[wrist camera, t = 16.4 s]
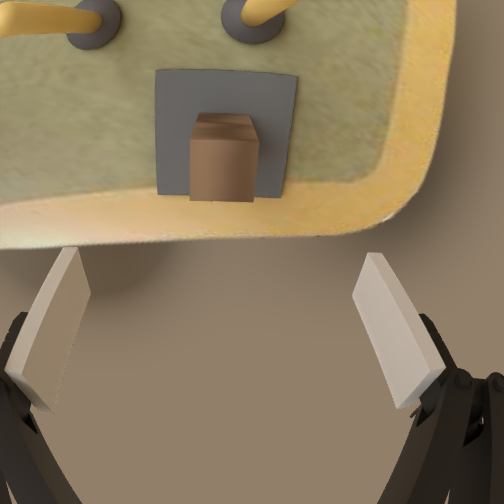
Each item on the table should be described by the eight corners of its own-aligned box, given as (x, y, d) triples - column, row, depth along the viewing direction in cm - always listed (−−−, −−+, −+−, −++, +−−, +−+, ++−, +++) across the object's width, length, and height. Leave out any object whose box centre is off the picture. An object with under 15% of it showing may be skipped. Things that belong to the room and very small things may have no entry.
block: (197, 157, 33) (189, 200, 25) (199, 112, 30) (189, 139, 22) (244, 159, 33) (253, 202, 25) (248, 114, 30) (259, 142, 22)
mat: (158, 192, 35) (157, 194, 35) (156, 70, 27) (155, 70, 26) (279, 195, 37) (280, 198, 36) (296, 76, 29) (297, 76, 28)
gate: (68, 53, 24) (-30, 74, 11) (70, 2, 20) (-26, -7, 8) (279, 46, 27) (330, 47, 14) (285, -7, 23) (340, -47, 10)
